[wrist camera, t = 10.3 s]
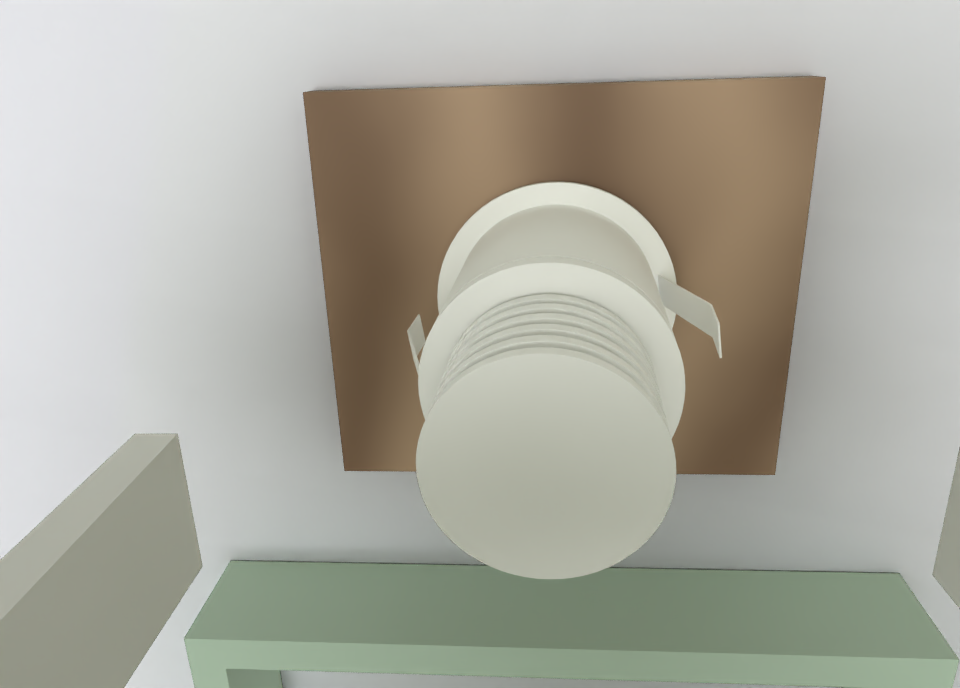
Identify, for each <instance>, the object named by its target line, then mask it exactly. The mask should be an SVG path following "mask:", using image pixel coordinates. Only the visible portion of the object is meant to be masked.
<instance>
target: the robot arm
mask: <svg viewBox="0 0 960 688" xmlns="http://www.w3.org/2000/svg"><path fill="white" fill-rule="evenodd" d="M201 568H202V561H201V556H200V550H199V545H198V540H197V534H196V529H195V524H194V518H193V513H192V508H191V502H190V497H189V492H188V486H187V481H186V476H185V471H184V465H183V460H182V455H181V449H180V444H179V439H178V434H134V435H133V436H132V437H131V438H130V439H129V440H128V441H127V442H126V443H124V444H123V445H122V446H121V447H120V448H119V449H118V450H117V451H116V452H115V453H114V454H113V455H112V456H111V457H110V458H109V459H107V460H106V461H105V462H104V463H103V464H102V465H101V466H100V467H99V468H98V469H97V470H96V471H95V472H94V473H93V474H91V475H90V476H89V477H88V478H87V479H86V480H85V481H84V482H83V483H82V484H81V485H80V486H79V487H78V488H77V489H75V490H74V491H73V492H72V493H71V494H70V495H69V496H68V497H67V498H66V499H65V500H64V501H63V502H62V503H61V504H60V505H58V506H57V507H56V508H55V509H54V510H53V511H52V512H51V513H50V514H49V515H48V516H47V517H46V518H45V519H44V520H42V521H41V522H40V523H39V524H38V525H37V526H36V527H35V528H34V529H33V530H32V531H31V532H30V533H29V534H28V535H27V536H25V537H24V538H23V539H22V540H21V541H20V542H19V543H18V544H17V545H16V546H15V547H14V548H13V549H12V550H11V551H9V552H8V553H7V554H6V555H5V556H4V557H3V558H2V559H1V560H0V688H124V687H125V685H126V684H127V682H128V681H129V679H130V678H131V676H132V675H133V673H134V671H135V670H136V668H137V667H138V665H139V664H140V662H141V661H142V659H143V658H144V656H145V654H146V653H147V651H148V650H149V648H150V647H151V645H152V644H153V642H154V641H155V639H156V637H157V636H158V634H159V633H160V631H161V630H162V628H163V627H164V625H165V624H166V622H167V620H168V619H169V617H170V616H171V614H172V613H173V611H174V610H175V608H176V607H177V605H178V603H179V602H180V600H181V599H182V597H183V596H184V594H185V593H186V591H187V590H188V588H189V586H190V585H191V583H192V582H193V580H194V579H195V577H196V576H197V574H198V573H199V571H200V569H201ZM932 575H933V576H934V577H935V579H936V580H937V581H938V582H939V584H940V585H941V586H942V587H943V589H944V590H945V591H946V592H947V594H948V595H949V596H950V597H951V599H952V600H953V601H954V602H955V604H956V605H957V606H958V607H959V609H960V448H959V453H958V458H957V462H956V467H955V472H954V476H953V481H952V486H951V490H950V495H949V500H948V504H947V509H946V514H945V518H944V523H943V528H942V532H941V537H940V542H939V546H938V551H937V556H936V560H935V565H934V570H933V574H932Z"/></svg>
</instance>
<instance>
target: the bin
mask: <svg viewBox="0 0 960 688" xmlns="http://www.w3.org/2000/svg"><path fill="white" fill-rule="evenodd" d="M184 641H185V646H186V650H187V655H188V660H189V664H190V669H191V673H192V678H193V682H194V687H195V688H283V687H282V681H281V674H280V670H292V671H325V672H358V673H391V674H424V675H458V676H491V677H524V678H557V679H590V680H623V681H657V682H690V683H723V684H756V685H789V686H822V687H842V688H952V686H953V682H954V678H955V675H956V671H957V667H958V663H959V659H958V657H957V656H956V654H955V653H954V651H953V650H952V648H951V647H950V646H949V644H948V643H947V641H946V640H945V638H944V637H943V636H942V634H941V633H940V631H939V630H938V628H937V627H936V625H935V624H934V623H933V621H932V620H931V618H930V617H929V615H928V614H927V613H926V611H925V610H924V608H923V607H922V605H921V604H920V602H919V601H918V600H917V598H916V597H915V595H914V594H913V592H912V591H911V590H910V588H909V587H908V585H907V584H906V582H905V581H904V579H903V578H902V577H901V575H900V574H899V573H853V572H801V571H748V570H695V569H642V568H606V569H604V570H601V571H598V572H595V573H592V574H588V575H585V576H579V577H574V578H566V579H536V578H528V577H522V576H518V575H513V574H510V573H506V572H503V571H500V570H498V569H495V568H493V567H490V566H484V565H432V564H379V563H326V562H273V561H230V563H229V564H228V566H227V568H226V569H225V571H224V573H223V574H222V576H221V578H220V579H219V581H218V583H217V584H216V586H215V588H214V589H213V591H212V593H211V594H210V596H209V598H208V599H207V601H206V603H205V604H204V606H203V608H202V609H201V611H200V613H199V614H198V616H197V618H196V619H195V621H194V623H193V624H192V626H191V628H190V629H189V631H188V633H187V634H186V636H185V638H184Z"/></svg>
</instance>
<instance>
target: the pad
mask: <svg viewBox="0 0 960 688" xmlns="http://www.w3.org/2000/svg"><path fill="white" fill-rule="evenodd" d="M825 80H826V77H818V76H796V77H762V78H728V79H694V80H661V81H627V82H593V83H559V84H525V85H491V86H457V87H423V88H389V89H355V90H321V91H309V92H303V98H304V107H305V116H306V125H307V134H308V143H309V152H310V161H311V170H312V180H313V189H314V198H315V207H316V216H317V225H318V234H319V243H320V252H321V261H322V270H323V280H324V289H325V298H326V307H327V316H328V325H329V334H330V343H331V352H332V361H333V371H334V380H335V389H336V398H337V407H338V416H339V425H340V434H341V443H342V452H343V462H344V471H416V451H417V445H418V440H419V436H420V432H421V430H422V427H423V424H424V422H425V418H424V415H423V412H422V408H421V404H420V398H419V389H418V373H417V370H416V366H415V363H414V360H413V355H412V351H411V346H410V342H409V337H408V333H407V330H408V329H409V327H410V326H411V324H412V323H413V321H414V320H415V318H416V317H417V315H418V314H420V318H421V323H422V327H423V332H424V337H425V341H426V339H427V337H428V335H429V333H430V331H431V329H432V327H433V325H434V323H435V321H436V319H437V317H438V315H439V311H438V298H437V294H438V281H439V275H440V271H441V267H442V263H443V261H444V258H445V255H446V253H447V251H448V249H449V247H450V245H451V243H452V241H453V239H454V238H455V236H456V235H457V233H458V232H459V230H460V229H461V228H462V226H463V225H464V224H465V223H466V222H467V221H468V219H469V218H470V217H471V216H472V215H473V214H474V213H476V212H477V211H478V210H479V209H480V208H481V207H483V206H484V205H486V204H487V203H488V202H490V201H491V200H493V199H495V198H497V197H498V196H500V195H502V194H504V193H506V192H509V191H511V190H513V189H516V188H520V187H523V186H526V185H531V184H535V183H543V182H573V183H579V184H584V185H589V186H592V187H596V188H599V189H601V190H604V191H606V192H609V193H611V194H613V195H615V196H617V197H618V198H620V199H622V200H624V201H625V202H626V203H628V204H629V205H631V206H632V207H633V208H635V209H636V210H637V211H638V212H639V213H641V214H642V215H643V216H644V217H645V218H646V219H647V221H648V222H649V223H650V224H651V225H652V226H653V228H654V229H655V230H656V232H657V233H658V235H659V236H660V238H661V239H662V241H663V243H664V245H665V247H666V249H667V251H668V253H669V256H670V259H671V261H672V264H673V268H674V272H675V276H676V283H677V285H678V286H680V287H682V288H684V289H686V290H687V291H689V292H691V293H693V294H694V295H696V296H698V297H700V298H701V299H703V300H705V301H707V302H709V303H710V304H712V306H713V308H714V311H715V313H716V316H717V318H718V321H719V323H720V336H721V351H722V358H720V357H719V354H718V352H717V349H716V346H715V343H714V340H713V337H711V336H710V335H708V334H706V333H705V332H703V331H702V330H700V329H699V328H697V327H696V326H694V325H693V324H691V323H690V322H688V321H686V320H685V319H683V318H682V317H680V316H679V315H677V314H676V316H675V321H674V325H673V328H672V331H673V334H674V337H675V339H676V342H677V345H678V348H679V350H680V353H681V357H682V361H683V366H684V373H685V399H684V405H683V410H682V414H681V418H680V421H679V424H678V426H677V429H676V431H675V433H674V435H673V437H672V443H673V447H674V452H675V458H676V474H732V475H775V470H776V463H777V455H778V447H779V439H780V431H781V424H782V416H783V408H784V400H785V392H786V384H787V377H788V369H789V361H790V353H791V345H792V338H793V330H794V322H795V314H796V306H797V299H798V291H799V283H800V275H801V267H802V259H803V252H804V244H805V236H806V228H807V220H808V213H809V205H810V197H811V189H812V181H813V174H814V166H815V158H816V150H817V142H818V134H819V127H820V119H821V111H822V103H823V95H824V88H825ZM424 345H425V344H424ZM424 345H423V347H424ZM423 347H422V349H421V350H420V352H419V354H418V355H417V358H418V361H419V364H420V358H421V355H422V351H423Z"/></svg>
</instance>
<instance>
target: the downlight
mask: <svg viewBox="0 0 960 688" xmlns="http://www.w3.org/2000/svg"><path fill="white" fill-rule="evenodd" d="M437 298H438V311H439V315H438V317H437V319H436V321H435V323H434V325H433V327H432V329H431V331H430V333H429V335H428V337H427V339H426V341H425V337H424V332H423V327H422V323H421V318H420V314H418V315H417V317H416V318H415V320H414V321H413V323H412V324H411V326H410V327H409V329H408V330H407V333H408V337H409V342H410V346H411V351H412V355H413V360H414V363H415V366H416V370H417V373H418V389H419V398H420V404H421V408H422V412H423V415H424V418H425V422H424V424H423V427H422V430H421V432H420V436H419V440H418V445H417V451H416V474H417V480H418V485H419V489H420V492H421V496H422V498H423V500H424V503H425V505H426V507H427V509H428V511H429V513H430V515H431V516H432V518H433V519H434V521H435V522H436V524H437V525H438V526H439V528H440V529H441V530H442V531H443V533H444V534H445V535H446V536H447V537H448V538H449V539H450V540H451V541H452V542H453V543H454V544H456V545H457V546H458V547H459V548H460V549H462V550H463V551H464V552H466V553H467V554H469V555H470V556H472V557H473V558H475V559H477V560H478V561H480V562H482V563H484V564H486V565H488V566H490V567H493V568H495V569H498V570H500V571H503V572H506V573H510V574H513V575H518V576H522V577H528V578H536V579H566V578H574V577H579V576H585V575H588V574H592V573H595V572H598V571H601V570H604V569H606V568H608V567H611V566H613V565H615V564H617V563H619V562H620V561H622V560H624V559H625V558H627V557H629V556H630V555H631V554H633V553H634V552H635V551H637V550H638V549H639V548H640V547H641V546H642V545H643V544H645V543H646V542H647V541H648V539H649V538H650V537H651V536H652V535H653V534H654V533H655V531H656V530H657V528H658V527H659V526H660V524H661V522H662V521H663V519H664V517H665V516H666V513H667V511H668V509H669V507H670V504H671V501H672V498H673V494H674V489H675V484H676V458H675V452H674V447H673V443H672V437H673V435H674V433H675V431H676V429H677V426H678V424H679V421H680V418H681V414H682V410H683V405H684V399H685V373H684V366H683V361H682V357H681V353H680V350H679V348H678V345H677V342H676V339H675V337H674V334H673V331H672V328H673V325H674V321H675V316H676V314H677V315H679V316H680V317H682V318H683V319H685V320H686V321H688V322H690V323H691V324H693V325H694V326H696V327H697V328H699V329H700V330H702V331H703V332H705V333H706V334H708V335H710V336H711V337H713V340H714V343H715V346H716V349H717V352H718V354H719V357H720V358H722V351H721V336H720V323H719V321H718V318H717V316H716V313H715V311H714V308H713V306H712V304H710V303H709V302H707V301H705V300H703V299H701V298H700V297H698V296H696V295H694V294H693V293H691V292H689V291H687V290H686V289H684V288H682V287H680V286H678V285H677V283H676V276H675V272H674V268H673V264H672V261H671V259H670V256H669V253H668V251H667V249H666V247H665V245H664V243H663V241H662V239H661V238H660V236H659V235H658V233H657V232H656V230H655V229H654V228H653V226H652V225H651V224H650V223H649V222H648V221H647V219H646V218H645V217H644V216H643V215H642V214H641V213H639V212H638V211H637V210H636V209H635V208H633V207H632V206H631V205H629V204H628V203H626V202H625V201H624V200H622V199H620V198H618V197H617V196H615V195H613V194H611V193H609V192H606V191H604V190H601V189H599V188H596V187H592V186H589V185H584V184H579V183H573V182H543V183H535V184H531V185H526V186H523V187H520V188H516V189H513V190H511V191H509V192H506V193H504V194H502V195H500V196H498V197H497V198H495V199H493V200H491V201H490V202H488V203H487V204H486V205H484V206H483V207H481V208H480V209H479V210H478V211H477V212H476V213H474V214H473V215H472V216H471V217H470V218H469V219H468V221H467V222H466V223H465V224H464V225H463V226H462V228H461V229H460V230H459V232H458V233H457V235H456V236H455V238H454V239H453V241H452V243H451V245H450V247H449V249H448V251H447V253H446V255H445V258H444V261H443V263H442V267H441V271H440V275H439V281H438V294H437ZM424 344H425V345H424ZM423 345H424V347H423ZM422 347H423V351H422V355H421V358H420V364H419V361H418V358H417V355H418V354H419V352H420V350H421V349H422Z"/></svg>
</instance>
